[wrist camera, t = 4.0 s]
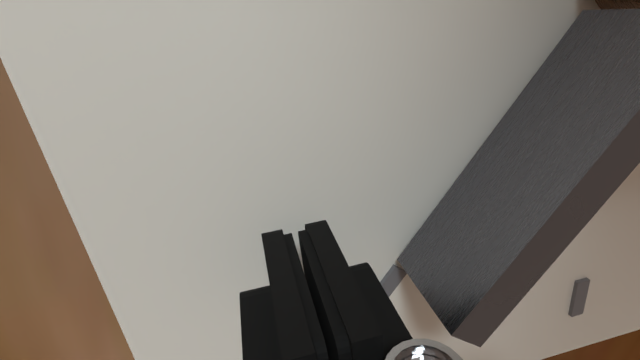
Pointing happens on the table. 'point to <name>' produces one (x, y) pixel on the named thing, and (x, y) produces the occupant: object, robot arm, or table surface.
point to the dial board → (294, 153)
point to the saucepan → (535, 176)
